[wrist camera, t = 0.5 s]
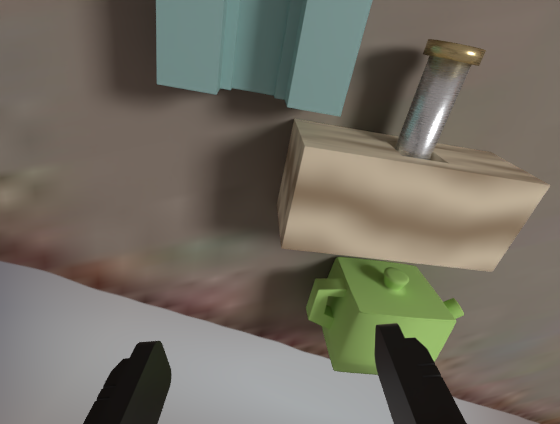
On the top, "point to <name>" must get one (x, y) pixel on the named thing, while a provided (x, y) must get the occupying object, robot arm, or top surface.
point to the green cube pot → (376, 310)
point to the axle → (435, 96)
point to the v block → (262, 48)
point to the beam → (400, 199)
